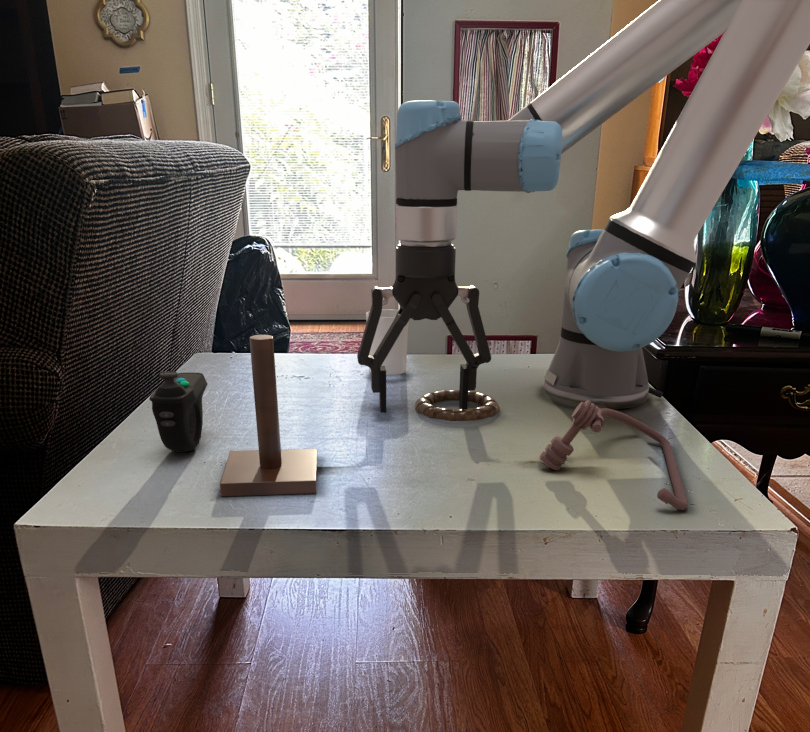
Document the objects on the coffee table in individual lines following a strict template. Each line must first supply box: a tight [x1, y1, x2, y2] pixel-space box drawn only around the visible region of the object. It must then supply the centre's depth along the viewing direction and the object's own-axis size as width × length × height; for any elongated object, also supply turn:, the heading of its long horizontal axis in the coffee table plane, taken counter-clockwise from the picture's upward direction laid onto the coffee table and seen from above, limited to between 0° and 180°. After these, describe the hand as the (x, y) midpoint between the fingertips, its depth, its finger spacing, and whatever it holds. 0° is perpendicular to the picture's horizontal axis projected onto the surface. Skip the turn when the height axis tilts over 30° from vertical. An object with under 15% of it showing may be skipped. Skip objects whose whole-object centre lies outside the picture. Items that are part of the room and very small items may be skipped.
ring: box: [414, 389, 501, 422], centre depth 107 cm, size 11×11×2 cm
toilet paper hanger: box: [539, 400, 689, 511], centre depth 89 cm, size 22×8×14 cm
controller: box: [149, 370, 208, 452], centre depth 94 cm, size 4×12×10 cm, turn 179°
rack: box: [219, 334, 318, 497], centre depth 84 cm, size 10×10×16 cm
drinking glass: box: [365, 308, 409, 376], centre depth 124 cm, size 7×7×10 cm
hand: (423, 414), depth 107 cm, fingers open, 10 cm apart
